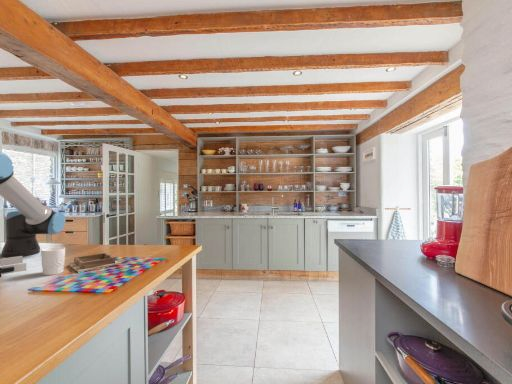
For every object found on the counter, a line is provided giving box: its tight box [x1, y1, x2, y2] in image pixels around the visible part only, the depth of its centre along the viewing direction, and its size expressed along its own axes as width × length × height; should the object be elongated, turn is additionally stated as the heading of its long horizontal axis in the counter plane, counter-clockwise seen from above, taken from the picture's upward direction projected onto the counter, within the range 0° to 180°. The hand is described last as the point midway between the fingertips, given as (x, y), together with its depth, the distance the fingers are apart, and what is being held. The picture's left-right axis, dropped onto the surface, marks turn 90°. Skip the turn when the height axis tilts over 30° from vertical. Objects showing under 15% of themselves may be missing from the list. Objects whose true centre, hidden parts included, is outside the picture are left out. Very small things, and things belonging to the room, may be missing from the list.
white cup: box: [40, 246, 66, 276], centre depth 106 cm, size 8×8×10 cm
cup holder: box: [68, 252, 121, 273], centre depth 117 cm, size 16×16×4 cm
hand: (24, 262), depth 100 cm, fingers open, 13 cm apart
